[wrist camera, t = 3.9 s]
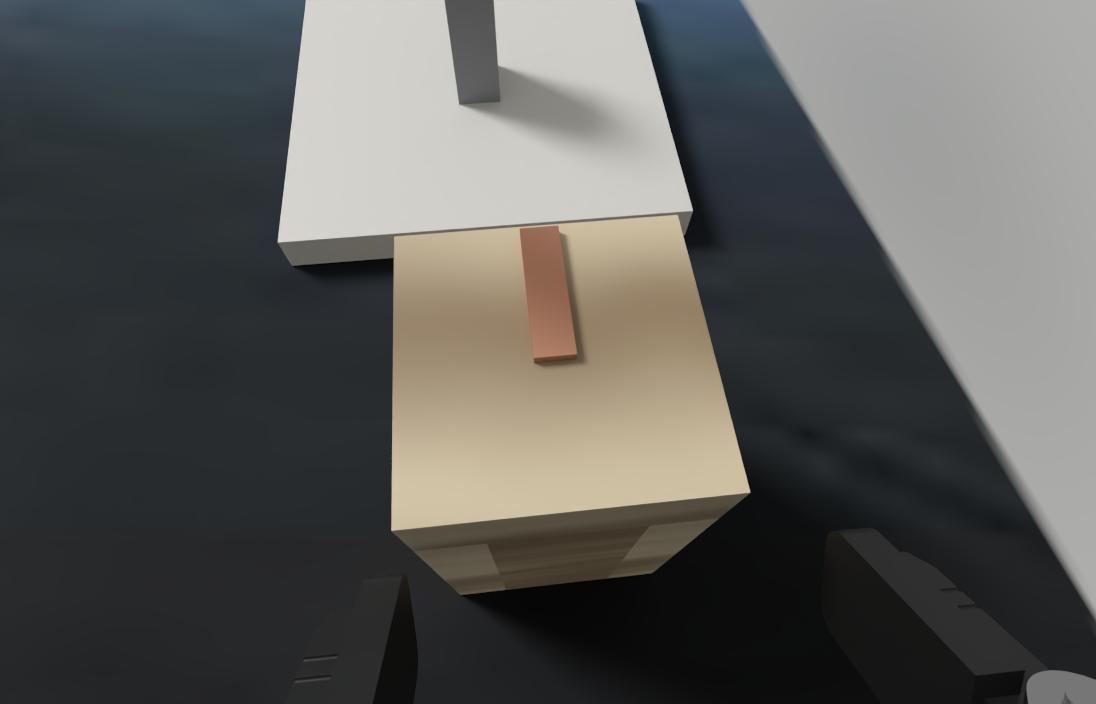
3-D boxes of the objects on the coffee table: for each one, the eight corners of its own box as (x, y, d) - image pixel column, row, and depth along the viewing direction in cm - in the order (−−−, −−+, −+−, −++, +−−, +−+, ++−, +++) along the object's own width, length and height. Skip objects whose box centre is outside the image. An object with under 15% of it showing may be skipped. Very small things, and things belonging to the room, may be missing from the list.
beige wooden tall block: (651, 573, 19) (754, 489, 10) (460, 595, 19) (388, 528, 10) (621, 398, 22) (679, 208, 13) (453, 414, 22) (392, 230, 12)
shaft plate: (684, 235, 25) (737, 80, 19) (291, 265, 24) (199, 114, 18) (622, -4, 33) (643, -176, 26) (317, 12, 32) (258, -162, 25)
